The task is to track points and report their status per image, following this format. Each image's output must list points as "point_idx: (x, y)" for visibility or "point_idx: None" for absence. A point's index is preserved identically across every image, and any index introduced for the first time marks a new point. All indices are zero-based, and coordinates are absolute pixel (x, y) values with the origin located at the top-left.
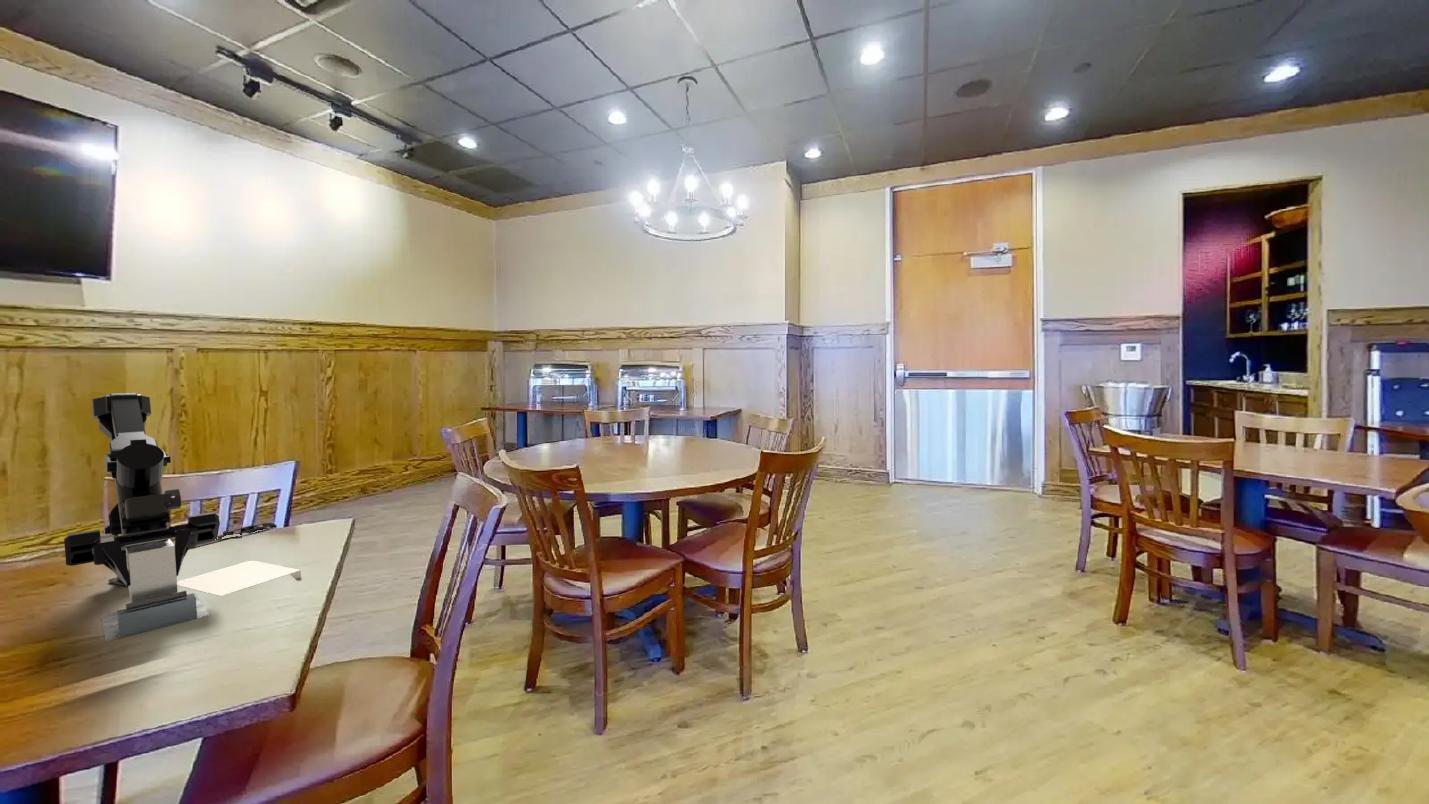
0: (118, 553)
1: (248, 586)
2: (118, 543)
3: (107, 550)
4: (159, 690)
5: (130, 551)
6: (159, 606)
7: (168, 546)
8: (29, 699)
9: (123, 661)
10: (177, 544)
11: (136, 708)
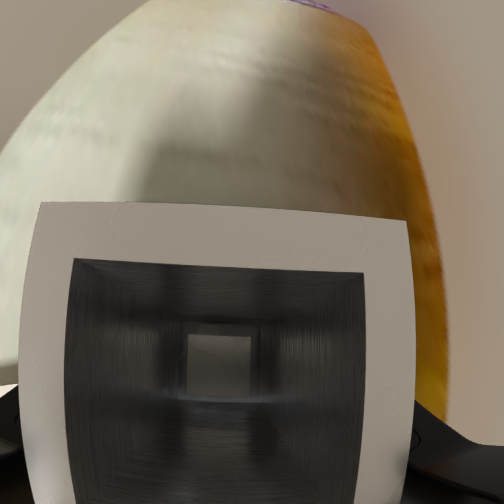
0: (431, 456)
1: (5, 389)
2: (489, 487)
3: (502, 450)
4: (262, 35)
5: (396, 319)
6: (223, 205)
7: (76, 213)
8: (397, 127)
9: (298, 154)
10: (16, 432)
11: (285, 22)
